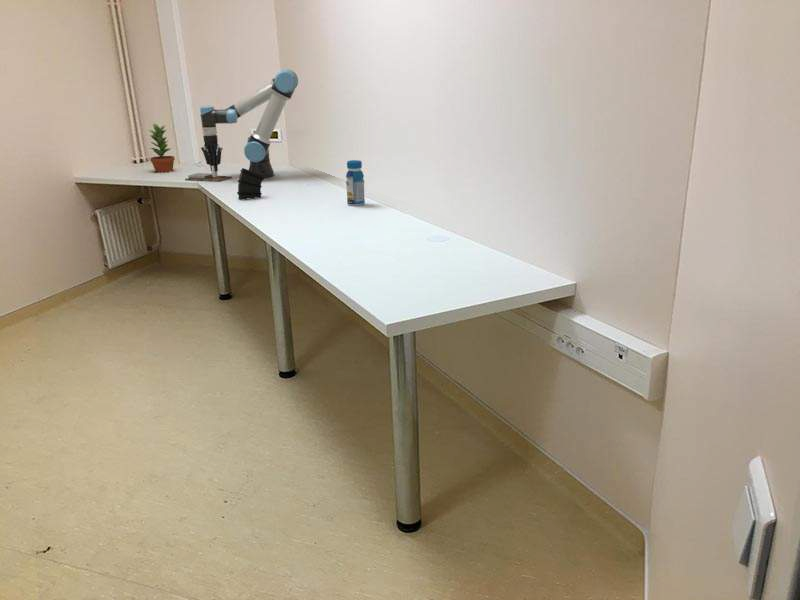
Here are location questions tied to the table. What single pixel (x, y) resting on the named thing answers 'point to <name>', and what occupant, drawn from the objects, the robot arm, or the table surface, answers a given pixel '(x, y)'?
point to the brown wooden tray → (215, 179)
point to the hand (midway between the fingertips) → (215, 176)
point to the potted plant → (161, 151)
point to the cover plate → (201, 176)
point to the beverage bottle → (355, 183)
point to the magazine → (249, 184)
